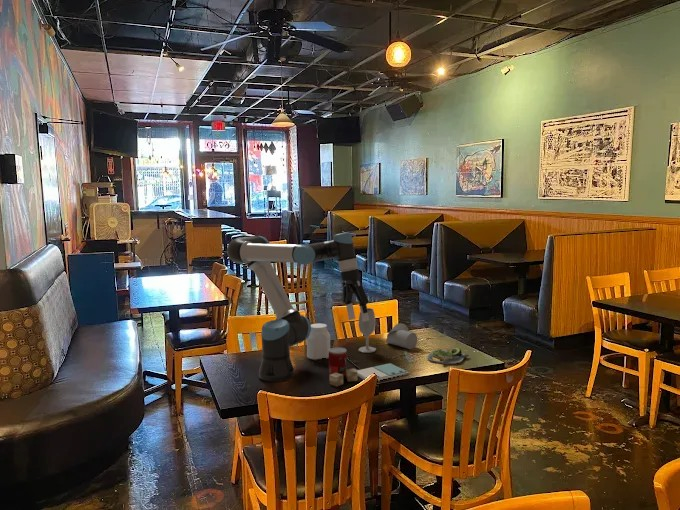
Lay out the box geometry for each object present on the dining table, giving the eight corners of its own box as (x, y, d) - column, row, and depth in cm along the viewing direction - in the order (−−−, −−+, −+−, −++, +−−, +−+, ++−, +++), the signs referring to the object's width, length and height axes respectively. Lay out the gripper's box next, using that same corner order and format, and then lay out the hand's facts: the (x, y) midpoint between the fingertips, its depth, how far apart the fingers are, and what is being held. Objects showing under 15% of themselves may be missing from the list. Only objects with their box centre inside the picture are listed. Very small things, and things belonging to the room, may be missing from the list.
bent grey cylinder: (374, 340, 264) (403, 349, 250) (377, 320, 265) (406, 328, 250) (396, 341, 276) (425, 349, 261) (399, 322, 277) (428, 329, 262)
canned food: (341, 379, 214) (340, 353, 213) (325, 375, 218) (324, 350, 217) (350, 373, 220) (350, 349, 219) (335, 370, 225) (334, 346, 223)
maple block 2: (348, 381, 211) (347, 372, 211) (346, 378, 215) (346, 369, 215) (357, 381, 212) (357, 371, 211) (355, 377, 216) (355, 368, 215)
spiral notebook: (370, 383, 209) (370, 380, 208) (352, 373, 221) (352, 370, 220) (408, 374, 219) (408, 371, 218) (389, 364, 231) (389, 362, 230)
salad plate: (460, 369, 224) (460, 359, 224) (421, 364, 232) (421, 354, 232) (470, 356, 241) (470, 347, 241) (433, 352, 250) (433, 343, 249)
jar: (308, 360, 239) (308, 329, 237) (305, 353, 248) (304, 324, 246) (332, 357, 242) (332, 327, 240) (328, 351, 251) (327, 322, 249)
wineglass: (379, 349, 253) (379, 308, 251) (370, 354, 246) (370, 312, 243) (364, 347, 258) (363, 306, 255) (355, 351, 251) (354, 310, 248)
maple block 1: (336, 386, 206) (336, 377, 205) (329, 384, 209) (329, 374, 208) (343, 384, 209) (343, 374, 208) (336, 381, 211) (336, 372, 211)
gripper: (370, 266, 200) (380, 319, 201) (345, 269, 223) (354, 316, 224) (353, 270, 198) (363, 324, 198) (329, 272, 220) (339, 320, 221)
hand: (358, 320), depth 211 cm, fingers open, 13 cm apart
